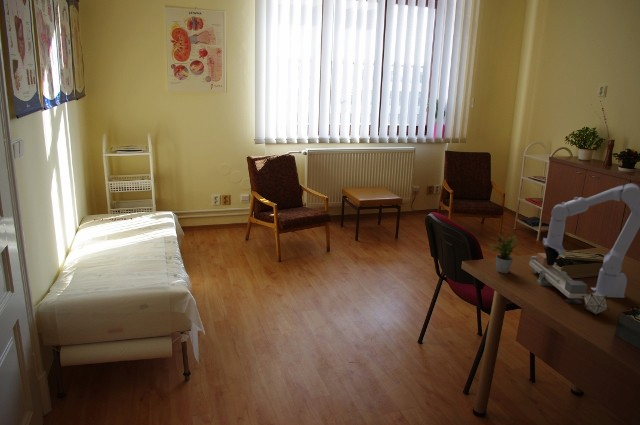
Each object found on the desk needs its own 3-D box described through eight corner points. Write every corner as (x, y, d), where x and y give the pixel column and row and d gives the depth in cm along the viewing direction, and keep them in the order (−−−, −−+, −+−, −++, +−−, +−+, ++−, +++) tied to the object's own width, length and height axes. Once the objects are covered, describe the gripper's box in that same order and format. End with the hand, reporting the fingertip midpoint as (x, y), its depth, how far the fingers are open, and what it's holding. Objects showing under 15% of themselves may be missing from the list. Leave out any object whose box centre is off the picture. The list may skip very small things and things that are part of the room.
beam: (587, 298, 184) (590, 285, 182) (567, 298, 183) (570, 285, 182) (545, 265, 215) (547, 254, 214) (528, 264, 215) (530, 253, 214)
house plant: (493, 261, 225) (498, 226, 220) (524, 269, 216) (530, 234, 212) (480, 269, 214) (485, 233, 210) (511, 278, 206) (518, 241, 201)
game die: (597, 323, 179) (621, 309, 173) (581, 317, 176) (604, 303, 170) (587, 302, 185) (609, 288, 179) (571, 296, 182) (593, 282, 176)
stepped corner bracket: (589, 304, 185) (592, 292, 184) (561, 304, 184) (563, 291, 183) (549, 272, 215) (551, 261, 213) (525, 271, 214) (526, 260, 213)
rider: (549, 268, 207) (551, 258, 206) (542, 268, 207) (544, 258, 206) (542, 263, 213) (544, 253, 212) (535, 262, 213) (537, 252, 212)
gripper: (538, 227, 207) (532, 258, 211) (554, 239, 193) (549, 271, 197) (554, 228, 208) (548, 258, 211) (572, 239, 194) (566, 271, 197)
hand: (550, 264), depth 204 cm, fingers closed
